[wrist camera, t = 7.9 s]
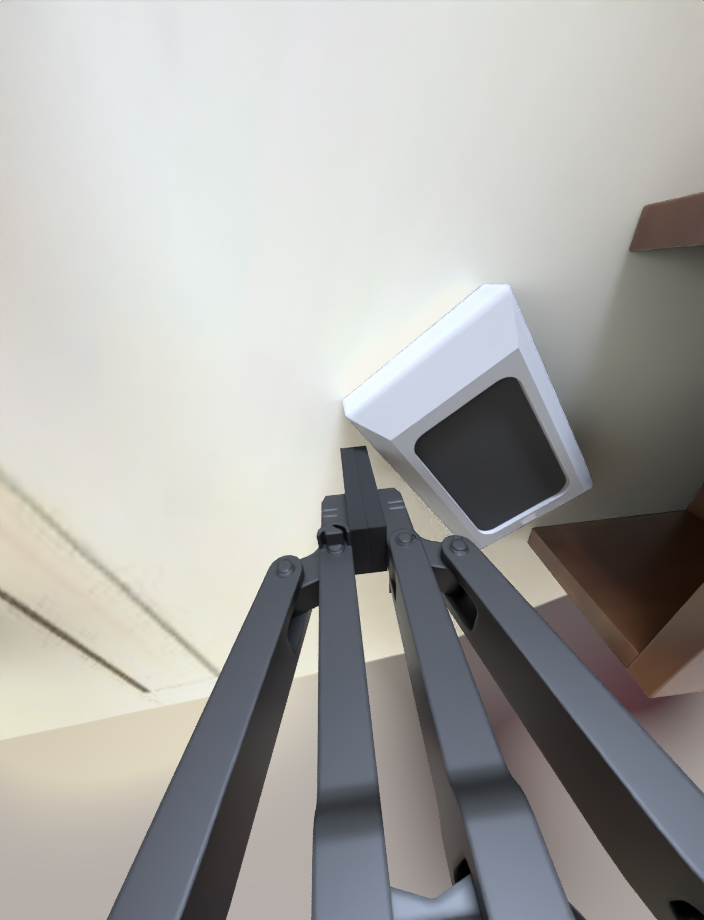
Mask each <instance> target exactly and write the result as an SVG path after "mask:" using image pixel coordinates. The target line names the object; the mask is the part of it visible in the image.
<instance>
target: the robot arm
mask: <svg viewBox="0 0 704 920" xmlns="http://www.w3.org/2000/svg"><path fill="white" fill-rule="evenodd" d="M340 450H341V459H342V469H343V478H344V488H345V494H340V495H331V496H325V498H324V500H323V502H322V520H321V528H320V529H319V530H318V533H317V540H318V545H319V548H318V549H317V550H316V551H315V552H314V553H313V554H311V555H309V556H307V557H305V558H302V559H299V558H298V557H296V556H292V555H288V556H283V557H280V558H278V559H277V560H275V561H274V562H273V563H272V564H271V566H270V567H269V569H268V571H267V574H266V576H265V578H264V580H263V582H262V584H261V587H260V589H259V591H258V593H257V595H256V597H255V600H254V602H253V604H252V606H251V608H250V610H249V613H248V615H247V617H246V619H245V621H244V623H243V626H242V628H241V630H240V632H239V634H238V636H237V639H236V641H235V643H234V645H233V647H232V649H231V652H230V654H229V656H228V658H227V660H226V662H225V665H224V667H223V669H222V671H221V673H220V675H219V678H218V680H217V682H216V684H215V686H214V688H213V691H212V693H211V695H210V697H209V700H208V702H207V704H206V706H205V708H204V710H203V713H202V714H201V717H200V719H199V721H198V723H197V725H196V728H195V730H194V732H193V734H192V736H191V738H190V741H189V743H188V745H187V747H186V749H185V751H184V754H183V756H182V758H181V760H180V762H179V764H178V767H177V769H176V771H175V773H174V776H173V777H172V779H171V782H170V784H169V786H168V788H167V791H166V792H165V795H164V797H163V799H162V801H161V803H160V806H159V808H158V810H157V812H156V814H155V816H154V818H153V821H152V823H151V825H150V827H149V829H148V831H147V834H146V836H145V838H144V840H143V842H142V845H141V847H140V849H139V851H138V853H137V855H136V857H135V860H134V862H133V864H132V866H131V868H130V870H129V873H128V875H127V877H126V879H125V881H124V883H123V886H122V888H121V890H120V892H119V894H118V896H117V899H116V901H115V903H114V905H113V907H112V910H111V912H110V914H109V916H108V918H107V920H226V917H227V914H228V910H229V908H230V904H231V901H232V897H233V894H234V890H235V886H236V883H237V879H238V876H239V872H240V868H241V864H242V861H243V857H244V854H245V850H246V847H247V843H248V839H249V836H250V832H251V828H252V825H253V821H254V818H255V814H256V810H257V807H258V803H259V799H260V796H261V792H262V789H263V785H264V781H265V778H266V774H267V771H268V767H269V764H270V760H271V756H272V753H273V749H274V745H275V742H276V738H277V734H278V731H279V727H280V724H281V720H282V717H283V713H284V709H285V706H286V702H287V699H288V695H289V691H290V688H291V684H292V680H293V677H294V673H295V670H296V666H297V662H298V659H299V655H300V652H301V648H302V644H303V641H304V637H305V633H306V630H307V626H308V623H309V619H310V615H311V612H312V609H313V608H315V607H317V606H319V659H318V770H317V771H318V773H317V805H316V810H315V817H314V827H313V859H312V917H311V919H312V920H586V919H585V918H584V917H583V916H582V914H581V913H580V912H579V911H578V910H577V909H576V908H575V907H574V906H572V904H570V903H569V901H568V900H567V897H566V895H565V892H564V889H563V887H562V884H561V882H560V879H559V877H558V874H557V872H556V869H555V867H554V864H553V862H552V859H551V857H550V854H549V851H548V849H547V846H546V844H545V841H544V839H543V836H542V834H541V831H540V828H539V826H538V823H537V821H536V819H535V816H534V813H533V811H532V809H531V806H530V804H529V802H528V800H527V798H526V796H525V794H524V792H523V790H522V789H521V787H520V786H519V784H518V783H517V782H516V781H515V780H514V778H513V777H512V776H511V774H510V772H509V770H508V768H507V766H506V763H505V761H504V758H503V755H502V753H501V750H500V748H499V745H498V742H497V740H496V737H495V734H494V732H493V729H492V726H491V724H490V721H489V718H488V716H487V713H486V711H485V708H484V705H483V702H482V700H481V697H480V694H479V692H478V689H477V686H476V684H475V681H474V679H473V676H472V673H471V670H470V668H469V665H468V663H467V660H466V657H465V655H464V652H463V649H462V647H461V644H460V641H459V638H458V636H457V633H456V630H455V628H454V625H453V622H452V620H451V617H450V614H449V612H448V609H449V611H450V612H451V614H452V615H453V617H454V618H455V620H456V622H457V623H458V625H459V626H460V628H461V629H462V631H463V632H464V634H465V635H466V637H467V638H468V640H469V641H470V643H471V644H472V646H473V648H474V649H475V651H476V652H477V654H478V655H479V657H480V658H481V660H482V661H483V663H484V665H485V666H486V667H487V669H488V670H489V672H490V674H491V675H492V677H493V678H494V680H495V681H496V683H497V684H498V686H499V687H500V689H501V691H502V692H503V694H504V695H505V697H506V698H507V700H508V701H509V703H510V704H511V706H512V707H513V709H514V711H515V712H516V714H517V715H518V717H519V718H520V720H521V721H522V723H523V724H524V726H525V727H526V729H527V731H528V732H529V734H530V735H531V737H532V738H533V740H534V741H535V743H536V744H537V746H538V747H539V749H540V750H541V752H542V754H543V755H544V757H545V758H546V760H547V761H548V763H549V764H550V766H551V767H552V769H553V770H554V772H555V774H556V775H557V777H558V778H559V780H560V781H561V783H562V784H563V786H564V787H565V789H566V790H567V792H568V793H569V795H570V796H571V798H572V799H573V801H574V803H575V804H576V806H577V807H578V809H579V810H580V812H581V813H582V815H583V816H584V818H585V820H586V821H587V822H588V824H589V826H590V827H591V829H592V830H593V832H594V833H595V835H596V836H597V838H598V840H599V841H600V842H601V844H602V846H603V847H604V848H605V850H606V851H607V853H608V854H609V856H610V857H611V859H612V860H613V861H614V863H615V864H616V866H617V867H618V869H619V870H620V872H621V873H622V874H623V876H624V877H625V879H626V880H627V881H628V883H629V884H630V885H631V887H632V888H633V889H634V890H635V892H636V893H637V894H638V896H639V897H640V898H641V899H642V901H643V902H644V903H645V905H646V906H647V907H648V908H649V909H650V911H651V912H652V914H653V915H654V916H655V917H656V919H657V920H704V793H703V792H702V791H701V790H700V789H699V788H698V787H697V786H696V785H695V784H694V783H693V781H692V780H691V779H690V778H689V777H688V776H687V775H686V774H685V773H684V772H683V770H682V769H681V768H680V767H679V766H678V765H677V764H676V763H675V762H674V761H673V760H672V758H671V757H670V756H669V755H668V754H667V753H666V752H665V751H664V750H663V749H662V748H661V747H660V745H659V744H658V743H657V742H656V741H655V740H654V739H653V738H652V737H651V736H650V735H649V733H648V732H647V731H646V730H644V728H643V727H642V726H641V725H640V724H639V723H638V722H637V720H635V718H634V717H633V716H632V715H631V714H630V713H629V712H628V711H627V710H626V708H625V707H624V706H623V705H622V704H621V703H620V702H619V701H618V700H617V699H616V697H615V696H614V695H613V694H612V693H611V692H610V691H609V690H608V689H607V688H606V687H605V686H604V685H603V683H602V682H601V681H600V680H599V679H598V678H597V677H596V676H595V675H594V674H593V672H592V671H591V670H590V669H589V668H588V667H587V666H586V665H585V664H584V663H583V662H582V660H580V658H579V657H578V656H577V655H576V654H575V653H574V652H573V651H572V650H571V649H570V647H569V646H568V645H567V644H566V643H565V642H564V641H563V640H562V639H561V638H560V637H559V636H558V634H557V633H556V632H555V631H554V630H553V629H552V628H551V627H550V626H549V625H548V623H547V622H546V621H545V620H544V619H543V618H542V617H541V616H540V615H539V614H538V613H537V611H535V609H534V608H533V607H532V606H531V605H530V604H529V603H528V602H527V601H526V600H525V598H524V597H523V596H522V595H521V594H520V593H519V592H518V591H517V590H516V589H515V588H514V586H513V585H512V584H511V583H510V582H509V581H508V580H507V579H506V578H505V577H504V576H503V574H502V573H501V572H500V571H499V570H498V569H497V568H496V567H495V566H494V565H493V564H492V562H491V561H490V560H489V559H488V558H487V557H486V556H485V555H484V554H483V553H482V552H481V551H480V549H479V548H478V547H477V546H476V545H475V544H474V543H473V542H472V541H471V540H469V539H468V538H466V537H463V536H459V535H452V536H448V537H446V538H444V540H443V541H442V542H436V541H430V540H426V539H424V538H422V537H420V536H419V535H418V533H416V532H415V531H414V529H413V526H412V523H411V521H410V518H409V515H408V512H407V510H406V508H405V504H404V502H403V499H402V496H401V493H399V492H398V491H397V490H396V489H395V488H388V489H379V490H377V487H376V483H375V479H374V475H373V471H372V467H371V463H370V460H369V456H368V452H367V448H366V446H359V447H350V448H341V449H340ZM387 566H388V571H389V593H392V597H393V601H394V606H395V610H396V615H397V620H398V624H399V629H400V633H401V638H402V643H403V647H404V652H405V656H406V661H407V665H408V670H409V675H410V679H411V683H412V689H413V693H414V698H415V702H416V707H417V712H418V716H419V721H420V726H421V730H422V735H423V739H424V744H425V749H426V753H427V758H428V762H429V767H430V771H431V776H432V781H433V785H434V790H435V795H436V799H437V804H438V810H439V817H440V825H441V833H442V839H443V844H444V849H445V854H446V858H447V863H448V868H449V872H450V877H451V882H452V887H451V888H450V889H448V890H446V891H445V892H444V893H442V894H441V895H439V896H438V897H436V898H433V899H430V898H426V897H423V896H419V895H416V894H413V893H410V892H406V891H403V890H400V889H396V888H393V887H390V882H389V873H388V864H387V855H386V847H385V838H384V828H383V819H382V811H381V802H380V794H379V785H378V776H377V767H376V759H375V749H374V740H373V732H372V722H371V714H370V705H369V696H368V687H367V678H366V669H365V660H364V651H363V642H362V633H361V624H360V615H359V606H358V598H357V589H356V580H355V575H357V574H365V573H374V572H382V571H387ZM447 608H448V609H447Z"/></svg>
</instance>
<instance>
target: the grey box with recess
mask: <svg viewBox="0 0 704 920" xmlns="http://www.w3.org/2000/svg"><path fill="white" fill-rule="evenodd" d="M343 405H344V411H345V416H346V417H347V418H348V419H349V420H350V421H351V423H352V424H353V425H354V426H355V427H356V428H357V429H358V430H359V431H360V432H361V434H362V435H363V436H364V437H365V438H366V439H367V440H368V441H369V442H370V443H371V444H372V446H373V447H374V448H375V449H376V450H377V451H378V452H379V453H380V454H381V455H382V457H383V458H384V459H385V460H386V461H387V462H388V463H389V464H390V465H391V466H392V467H393V469H394V470H395V471H396V472H397V473H398V474H399V475H400V476H401V477H402V478H403V480H404V481H405V482H406V483H407V484H408V485H409V486H410V487H411V488H412V489H413V491H414V492H415V493H416V494H417V495H418V496H419V497H420V498H421V499H422V500H423V501H424V503H425V504H426V505H427V506H428V507H429V508H430V509H431V510H432V511H433V512H434V514H435V515H436V516H437V517H438V518H439V519H440V520H441V521H442V522H443V523H444V524H445V526H446V527H447V528H448V529H449V530H450V531H451V532H452V533H453V534H454V535H459V536H463V537H466V538H468V539H469V540H471V541H472V542H473V543H474V544H475V545H476V546H477V547H478V548H479V549H482V548H484V547H486V546H488V545H490V544H491V543H493V542H495V541H497V540H499V539H501V538H502V537H504V536H506V535H508V534H510V533H512V532H513V531H515V530H517V529H519V528H521V527H522V526H524V525H526V524H528V523H530V522H532V521H533V520H535V519H537V518H539V517H541V516H543V515H544V514H546V513H548V512H550V511H552V510H553V509H555V508H557V507H559V506H561V505H563V504H564V503H566V502H568V501H570V500H572V499H574V498H575V497H577V496H579V495H581V494H583V493H584V492H586V491H588V490H590V489H591V488H592V487H593V483H592V479H591V475H590V472H589V470H588V467H587V465H586V463H585V460H584V458H583V456H582V453H581V451H580V449H579V446H578V444H577V442H576V439H575V437H574V435H573V432H572V430H571V428H570V425H569V423H568V421H567V418H566V416H565V414H564V411H563V409H562V407H561V404H560V402H559V400H558V397H557V395H556V393H555V390H554V388H553V386H552V383H551V381H550V379H549V376H548V374H547V372H546V369H545V367H544V365H543V362H542V360H541V358H540V355H539V353H538V351H537V348H536V346H535V344H534V341H533V339H532V337H531V334H530V332H529V330H528V327H527V325H526V323H525V320H524V318H523V316H522V313H521V311H520V309H519V306H518V304H517V302H516V299H515V297H514V295H513V292H512V290H511V288H510V285H506V284H483V285H482V286H481V287H479V288H478V289H477V290H476V291H474V292H473V293H472V294H471V295H470V296H468V297H467V298H466V299H465V300H464V301H462V302H461V303H460V304H459V305H457V306H456V307H455V308H454V309H453V310H451V311H450V312H449V313H448V314H447V315H445V316H444V317H443V318H442V319H440V320H439V321H438V322H437V323H436V324H434V325H433V326H432V327H431V328H430V329H428V330H427V331H426V332H425V333H423V334H422V335H421V336H420V337H419V338H417V339H416V340H415V341H414V342H413V343H411V344H410V345H409V346H408V347H406V348H405V349H404V350H403V351H402V352H400V353H399V354H398V355H397V356H396V357H394V358H393V359H392V360H391V361H389V362H388V363H387V364H386V365H385V366H383V367H382V368H381V369H380V370H379V371H377V372H376V373H375V374H374V375H372V376H371V377H370V378H369V379H368V380H366V381H365V382H364V383H363V384H362V385H360V386H359V387H358V388H357V389H355V390H354V391H353V392H352V393H351V394H349V395H348V396H347V397H346V398H345V399H343Z"/></svg>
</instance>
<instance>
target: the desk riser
mask: <svg viewBox="0 0 704 920" xmlns="http://www.w3.org/2000/svg"><path fill="white" fill-rule="evenodd" d="M697 245H704V192H701V193H697V194H692V195H688V196H684V197H679V198H675V199H671V200H667V201H662V202H658V203H654V204H649V205H646V206H645V207H644V208H643V211H642V214H641V217H640V220H639V223H638V226H637V228H636V231H635V234H634V237H633V240H632V243H631V246H630V249H629V251H640V250H651V249H663V248H674V247H685V246H697ZM528 544H529V545H530V547H531V548H532V549H533V551H534V552H535V553H536V554H537V556H538V557H539V558H540V559H541V561H542V562H543V563H544V565H545V566H546V567H547V568H548V570H549V571H550V572H551V574H552V575H553V576H554V577H555V579H556V580H557V581H558V583H559V584H560V585H561V586H562V588H563V589H564V590H565V591H566V593H567V594H568V595H569V597H570V598H571V599H572V600H573V602H574V603H575V604H576V606H577V607H578V608H579V609H580V610H581V612H582V613H583V615H584V616H585V617H586V618H587V620H588V621H589V622H590V623H591V625H592V626H593V627H594V629H595V630H596V631H597V632H598V634H599V635H600V636H601V638H602V639H603V640H604V641H605V643H606V644H607V645H608V647H609V648H610V649H611V650H612V652H613V653H614V654H615V655H616V657H617V658H618V659H619V661H620V662H621V663H622V664H623V666H624V667H625V668H627V670H628V672H629V673H630V674H631V675H632V677H633V678H634V679H635V681H636V682H637V683H638V684H639V686H640V687H641V688H642V689H643V691H644V692H645V693H646V694H647V696H648V697H649V698H655V697H661V696H669V695H676V694H684V693H691V692H698V691H704V485H703V486H702V488H701V489H700V491H699V492H698V493H697V495H696V496H695V498H694V499H693V501H692V502H691V503H690V505H689V506H688V508H687V509H686V510H683V511H675V512H666V513H658V514H649V515H641V516H633V517H624V518H616V519H607V520H599V521H591V522H582V523H574V524H565V525H557V526H549V527H540V528H533V529H532V531H531V534H530V537H529V540H528Z"/></svg>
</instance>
